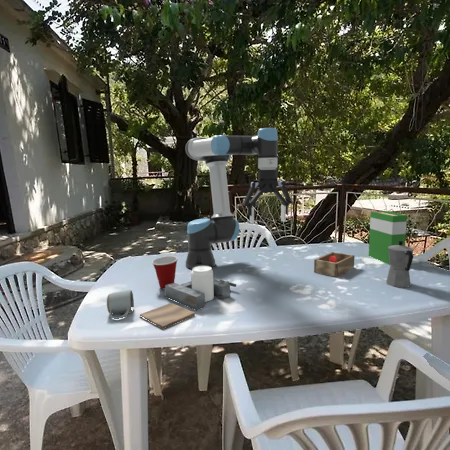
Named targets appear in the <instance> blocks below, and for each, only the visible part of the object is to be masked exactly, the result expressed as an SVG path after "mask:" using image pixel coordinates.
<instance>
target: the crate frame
mask: <svg viewBox="0 0 450 450" xmlns="http://www.w3.org/2000/svg"><path fill="white" fill-rule="evenodd" d="M330 256H335V257H336V258H337V261H338V262H337V263H333V262H329V258H330ZM313 261H314V262H313V265H314V266H313V272H314V273H317V274H321V275H326V276H331V277H335V278H338V277H339V276H342V275H344V274H343V272H345V273H346V272H348V271H350V270H353V269H354V268H355V255H354V254H350V253H349V254H348V253H342V252H335V251H331V252H328V253H325V255H321V256H319V257H317V258H315V259H314V260H313Z"/></svg>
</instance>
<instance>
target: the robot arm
mask: <svg viewBox="0 0 450 450" xmlns="http://www.w3.org/2000/svg"><path fill="white" fill-rule="evenodd" d="M278 141H279V138H278V129H276V128H275V127H263V128H259V129H258V131H257V135H224V134H219V135H216V134H215V135H214V136H213V137H201V136H198V137H194V138H190V139H189V140H188V141H187V143H186V144H185V146H184V147H185V148H184V149H185V154H186V155H187V157H189V158H190V159H192V160H194V161H198V162H199V161H200V162H205V166H206V167H207V168H208V169H209V180H210V190H211V199H212V208H213V215H211V217H210V218H211V219H210V218H208V217H207V218H199V219H198V218H197V219H194V220H192V221H189V222H188V224H187V228H186V229H187V231H186V233H187V249H188V250H187V255H186V260H185V261H184V262H185V267H186V268H187V269H189V268H190V269H189V270H192V269H193V268H194V267H197V266H209V267H211V268H214V267H215V266H216V259H215V257H214V254H213V251H212V244H213V245H214V244H220V243H229V242H233V241H235V240H236V239H238V236H239V233H240V223H239V221H238V219H236V218H235V217H234V214H233V213H232V212H231V209H230V199H229V198H230V197H229V196H230V195H229V187H228V186H229V185H228V178H227V169H226V167H227V165H228V163H229V160H230V159H231V158H232V156H233V155H234V156H236V155H237V156H238V155H239V156H240V155H244V156H245V155H246V156H256V155H257V168H258V169H259V170H258V171H257V173H258V174H257V179H258V180H257V182H255V181H251V182H250V183H249V184H250V185H249V189H248V192H247V194H246V196H245V198H244V201H243V202H242V206H244V207H246V208H247V216H249V224H251V225H255V208H254V207H253V206H255V205H254V204H256V202H257V201H258V200H259V199H260V197H261V196H262V195H263V194H272V193H273V194H274V195H275V197H277V199H278V200H279V201H280V203H281V205H280V222H283V223H286V217H287V216H286V215H287V214H288V212H289V211H288V208H289V207H288V206H289V205H290V204H293V200H292V198H291V196H290V194H289V192H288V189H287V186H286V182H285V180H280V181H278V147H279V146H278V143H279V142H278ZM257 187H258V189H257V191H256V192H255V189H256V188H257ZM277 187H279V188H280V190H281V192H282V194H283V195H282V194H281V193H280V190H278V188H277ZM254 192H255V194H254ZM253 194H254V195H253ZM252 196H253V197H252ZM283 196H284V197H283Z"/></svg>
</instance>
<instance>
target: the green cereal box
mask: <svg viewBox="0 0 450 450" xmlns="http://www.w3.org/2000/svg"><path fill="white" fill-rule="evenodd" d="M407 219H408V215H407V214H401V213H396V212H390V211H386V210H382V211H380V212H376V211H370V217H369V221H370V222H369V242H368V257H370V256H371V257H370V258H372V257H373V258H372V259H374V260H377V259H378V261H379V260H380V261H379V262H382V263H384V264H387V265H389V266H390V261H389V250H388V246H391V245H399V241H403V244H402V245H403V246H406V239H407V238H406V235H407V222H408V220H407Z"/></svg>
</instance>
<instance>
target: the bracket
mask: <svg viewBox="0 0 450 450" xmlns="http://www.w3.org/2000/svg"><path fill="white" fill-rule="evenodd" d="M329 262H333V263H337V262H338V261H337V258H336V257H335V256H330V258H329ZM345 273H346V272H343V274H342V275H345Z"/></svg>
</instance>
